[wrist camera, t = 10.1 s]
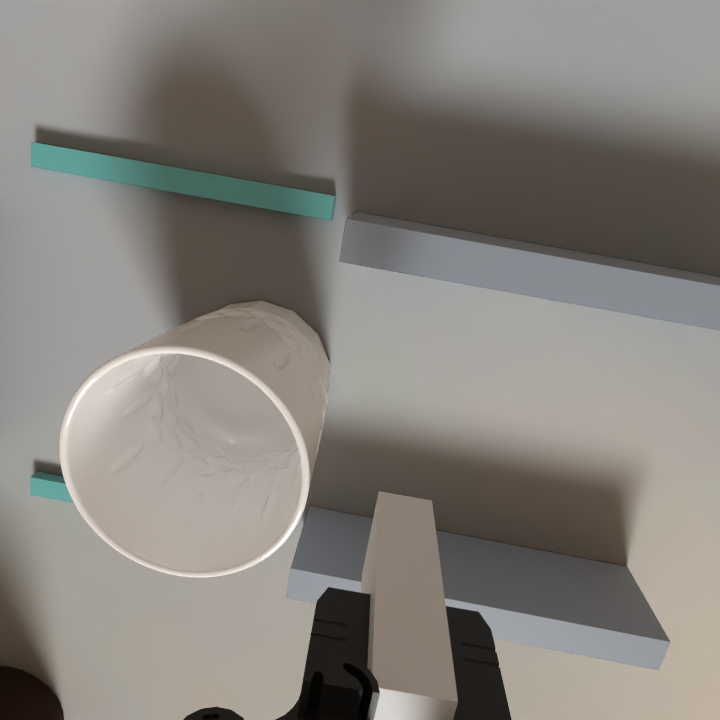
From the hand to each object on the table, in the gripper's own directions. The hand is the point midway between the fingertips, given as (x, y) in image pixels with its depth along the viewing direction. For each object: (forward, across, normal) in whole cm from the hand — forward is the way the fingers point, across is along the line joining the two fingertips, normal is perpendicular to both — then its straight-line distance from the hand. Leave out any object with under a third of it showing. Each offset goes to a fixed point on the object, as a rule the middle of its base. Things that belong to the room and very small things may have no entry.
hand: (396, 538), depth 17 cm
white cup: (+12, -6, 0) cm, 14 cm away
